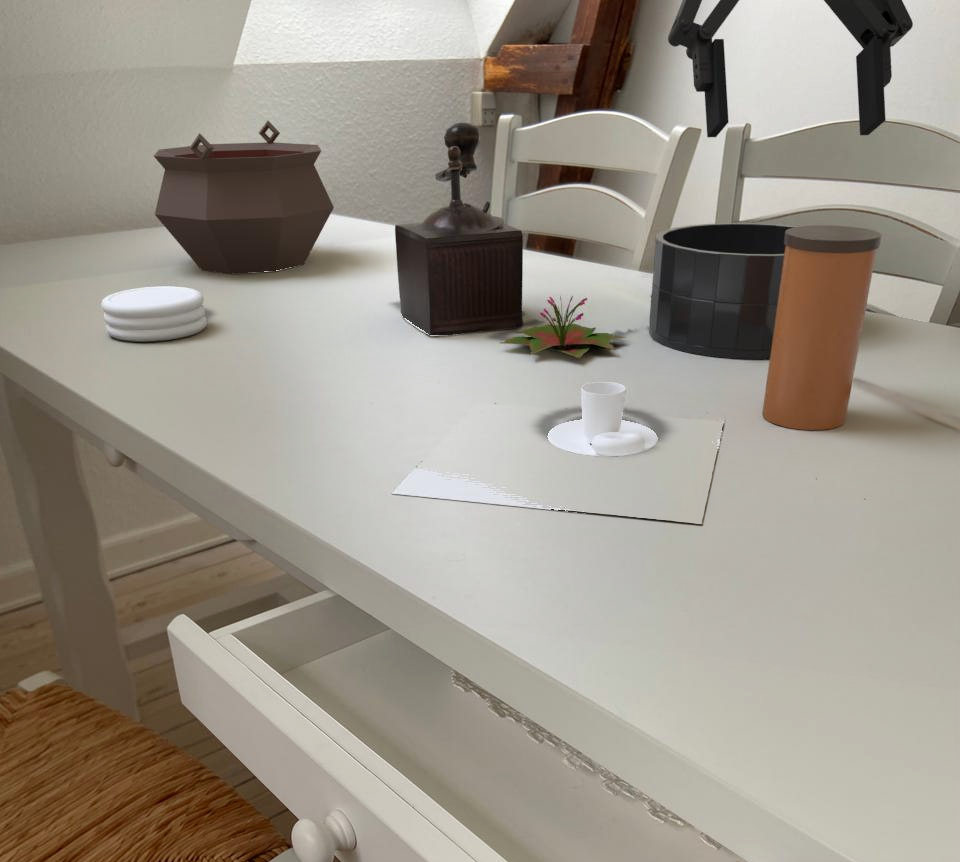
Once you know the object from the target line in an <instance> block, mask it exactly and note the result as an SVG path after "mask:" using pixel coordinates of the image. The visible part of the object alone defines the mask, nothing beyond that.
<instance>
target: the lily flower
mask: <svg viewBox="0 0 960 862" xmlns="http://www.w3.org/2000/svg"><path fill="white" fill-rule="evenodd" d="M573 297H574V295H571V297H570V299H569V302H568V305H567V308H566V311H565V313H564V317H563V316H562V313H560V312H561V311H560V309H561V310H563V303H562V297H561V295H559V299H560V304H561V305H560V306H561V308H560V307H559V305H558V306H557V304H556V301H555V300H554V299H553V298H552V296H549V299H546V302H547V303H548V304H550V306H551V307H552V308H553V311H554V314H555V317H556V318H555V317H552V316H551V314H550V313H549V311H548V310H547V309H546V308H543V312H540V313H539V315H540V316H541V317H543V318H544V319H546V320H547V321H548V322H549V323H548V324H545V325H541V326H531V327H527V328H524V329H521V330H518V331H514V332H511V333H512V334H523V335H526V336H523V335H521V336H519V335H518V336H512V337H510V338H507V339H506V340H504V341H500V344H504V345H505V344H506V345H507V344H509V345H523V346H529V349H530V354H529V356H532V355H534V354H536V353H539V352H541V351H543V350H546V349H549V348H550V349H551V350H553V351H556V352H561V353H564V354H567V355H568V356H569V355H570V356H573V357H575V358H577V359H580V358H581V357H582V356H583V355H584V354H585V353H587V352H588V351H589V350H590V347H589V346H587V345H594V346H598V347H602V348H605V349H609V350H613V351H617V349H616V348H615V347H614V345H613V344H612V343H611V342H610V341H612V340H619V339H623V338H625V339H626V336H622V335H617V334H612V333H608V332H595V331H596V329H597V327H592V328H591V327H587V326H582V325H579V324H576V323H574V322H576V321H579V320H582V317H583V316H584V312H582V313H580V314H577V315H576V317H575V318H573V319H572V317H573V315H574V313H575V311H576V310H577V308H578V307H580V306H581V307H582V306H583V305H585V302H586V301H588V297H585V298H583V299H581V301H579V303H577V304H576V305H575V306H574V307H573V308H572V309H571V311H569V309H570V306H571V305H570V303H571V302H572V301H573ZM547 315H548V317H549V318H548V317H547ZM555 322H556V323H557V324H556V323H555Z"/></svg>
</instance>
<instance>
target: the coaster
mask: <svg viewBox="0 0 960 862" xmlns="http://www.w3.org/2000/svg"><path fill="white" fill-rule="evenodd" d="M204 301H205V300H204V296H203V294H202V293H201V292H200V291H198V290H197V289H195V288H190V287H184V286H174V285H173V286H169V285H167V286H166V285H164V286H163V285H162V286H147V287H146V286H145V287H136V288H130V289H125V290H121V291H117V292H114V293H112V294H108V295H106V296H105V297H104V298H103V299H102V301H101V305H100V307H101V309H102V311H103V320H104V321H105V330H106V332H107V334H108V335H109V336H110V337H112V338H113V339H116V340H118V341H119V340H120V341H125V342H140V343H143V342H146V343H147V342H148V343H149V342H163V341H164V342H165V341H170V340H171V341H172V340H176V339H177V340H178V339H182V338H186V337H190V336H193V335H196V334H198V333H200V332H202V331H203V330H204V329H205V328H206V327H207V324H208V323H207V322H208V319H207V318H206V316H205V314H206V308H205V305H203V304H204Z"/></svg>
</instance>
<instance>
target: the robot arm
mask: <svg viewBox="0 0 960 862" xmlns="http://www.w3.org/2000/svg"><path fill="white" fill-rule="evenodd" d="M739 2H740V0H719V1H718V2H717V4H716V5H715V6H714V8H713V9H712V10H711V12H710V13H709V14H708V16H707V17H706V19H705V20H704V22H703V23H702V24H699V23H697V22H694V21H695V19H696V17H697V14H698V12H699V9H700V7H701V4H702V3H703V0H682V1H681V4H680V6H679V8H678V11H677V13H676V16H675V19H674V21H673V24H672V26H671V28H670V30H669V33H668V36H667V41H668V43H669V45H671V46H672V47H679V46H682V47H684V48H686V49H685V53H686V54H685V55H686V57H687V58H688V59H690V60H692V73H693V74H692V75H693V76H692V78H693V87H694V89H695V91H696V93H702V92H703V93H704V105H705V106H704V107H705V120H706V121H705V122H706V137H707V138H717V137H718V136H719V134H720V133H721V132H722V131H723V130H724V128H725V127H726V126H727V125H728V124H729V107H728V91H727V90H728V89H727V87H728V86H727V72H726V56H725V55H726V54H725V39H724V38H714V36H715V35H716V34H717V32H718V31H719V29H720V28H721V27H722V25H723V24H724V22H725V21H726V20H727V18H728V17H729V16H730V14H731V12H732V11H734V9H735V7H736V6H737V4H738V3H739ZM823 2H824V3H825V4H826V5H827V6H828V7H829V9H830V10H831V12H833V14H834V15H835V16H836V18H838V19H839V21H840V22H841V23H842V25H843V26H844V27H845V28H846V29H847V31H848V32H849V34H851V36H852V37H853V38H854V40H855V41H856V42H857V43H858V44H859V45H860V47H861V48H862V50H861V51H860V52H859V53H858V54H857V55H856V57H855V61H856V62H855V64H856V81H857V82H856V83H857V84H856V85H857V101H858V118H859V119H858V120H859V121H858V123H859V136H869V135H871V133H873V132H874V131H876V129H877V128H878V127H880V126H881V125H882V124H884V123H885V122H886V101H885V87H887V86H888V85H889V84H890V83H891V80H892V77H893V75H892V73H893V72H892V71H893V70H892V54H891V53H892V52H891V48H892V47H894V46H895V45H897V44H898V43H899V42H900V41H901V40H902V39H903V38H904V37H905V36H906V35H908V33H909V32H910V31H911V30H912V29H913V26H914V23H913V19H912V18H911V16H910V13H909V11H908V9H907V8H906V6H905V4H904V1H903V0H823Z"/></svg>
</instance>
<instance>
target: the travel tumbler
mask: <svg viewBox="0 0 960 862" xmlns="http://www.w3.org/2000/svg"><path fill="white" fill-rule="evenodd" d="M881 240H882V233H880V232H879V231H877V230H873V229H868V228H863V227H857V226H845V225H828V224H827V225H824V224H823V225H822V224H821V225H801V226H800V227H795V228H790V229H788V230H786V232H785V237H784V244H785V245H786V246H785V253H784V260H783V267H782V275H781V282H780V289H779V296H778V304H777V311H776V318H775V325H774V332H773V340H772V347H771V354H770V359H769V361H768V369H767V377H766V384H765V385H766V386H765V390H764V392H765V393H764V399H763V406H762V417H763V418H764V419H765V420H766V421H768V422H769V423H771V424H773V425H776V426H779V427H782V428H787V429H793V430H802V431H825V430H831V429H832V430H833V429H836V428H838V427H841V426H842V425H844V424H845V422H846V418H847V413H848V409H849V403H850V397H851V393H852V387H853V380H854V375H855V371H856V364H857V359H858V353H859V348H860V343H861V338H862V332H863V326H864V320H865V315H866V310H867V305H868V300H869V299H868V298H869V293H870V288H871V283H872V278H873V277H872V276H873V272H874V266H875V262H876V261H875V260H876V254H877V251H878V249H879V248H880V245H881V242H882V241H881Z"/></svg>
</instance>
